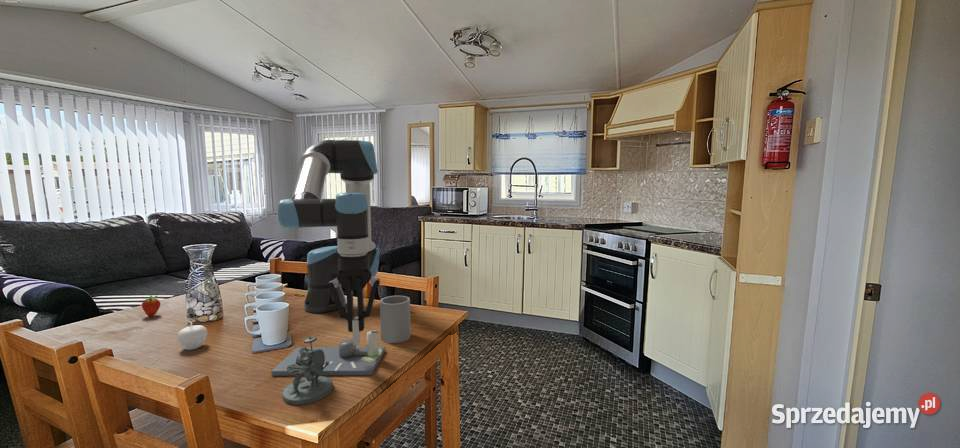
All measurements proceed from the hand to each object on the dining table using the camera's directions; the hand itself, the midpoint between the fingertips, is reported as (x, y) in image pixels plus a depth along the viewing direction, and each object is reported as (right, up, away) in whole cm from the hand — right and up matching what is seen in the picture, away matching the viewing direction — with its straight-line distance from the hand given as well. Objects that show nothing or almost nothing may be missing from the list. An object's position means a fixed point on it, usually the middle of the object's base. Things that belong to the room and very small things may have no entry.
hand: (356, 342), depth 98 cm
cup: (+6, -5, +20) cm, 22 cm away
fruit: (-87, -3, +39) cm, 96 cm away
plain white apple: (-52, -6, +13) cm, 54 cm away
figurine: (-8, -8, -11) cm, 16 cm away
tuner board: (-8, -6, +3) cm, 10 cm away
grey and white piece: (-1, -5, +5) cm, 7 cm away
